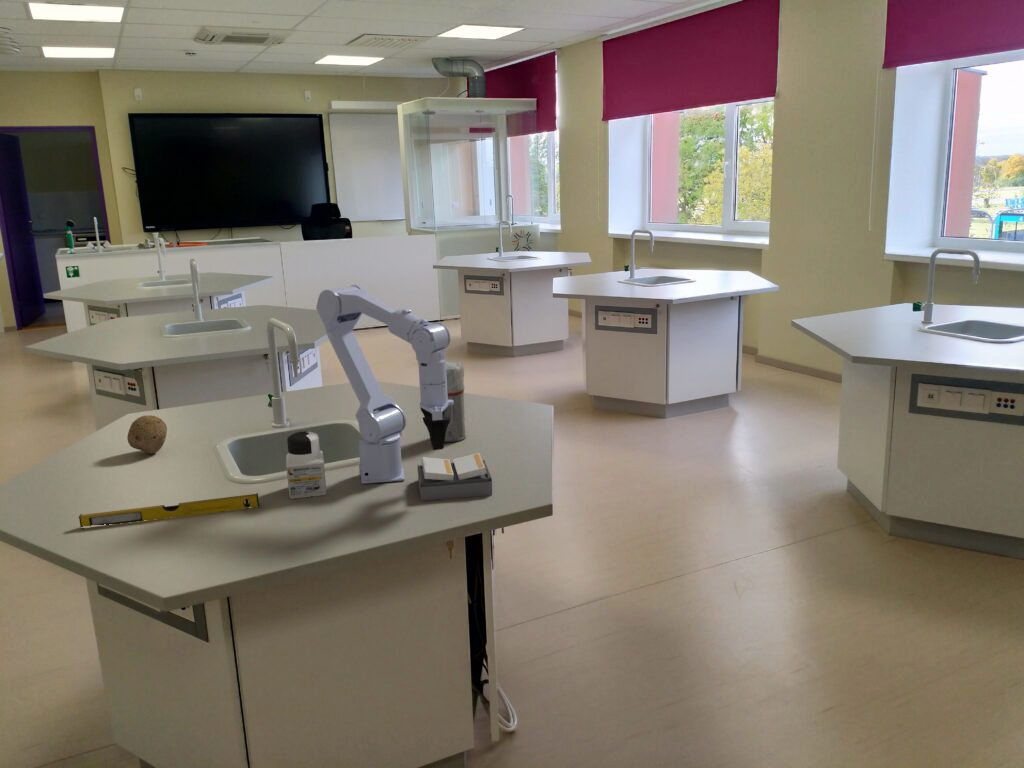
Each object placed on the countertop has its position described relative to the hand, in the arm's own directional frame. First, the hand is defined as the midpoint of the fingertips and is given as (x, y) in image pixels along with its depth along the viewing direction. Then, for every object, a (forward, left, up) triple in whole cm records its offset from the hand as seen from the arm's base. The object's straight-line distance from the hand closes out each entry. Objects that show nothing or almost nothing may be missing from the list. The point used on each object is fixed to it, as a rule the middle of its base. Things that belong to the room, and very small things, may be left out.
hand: (436, 443), depth 169 cm
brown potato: (-69, +39, -11) cm, 80 cm away
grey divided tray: (+3, 0, -10) cm, 11 cm away
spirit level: (-54, -3, -11) cm, 55 cm away
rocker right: (+7, 0, -7) cm, 10 cm away
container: (-28, +5, -11) cm, 30 cm away
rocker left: (0, 0, -7) cm, 7 cm away
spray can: (+6, +34, -11) cm, 36 cm away
